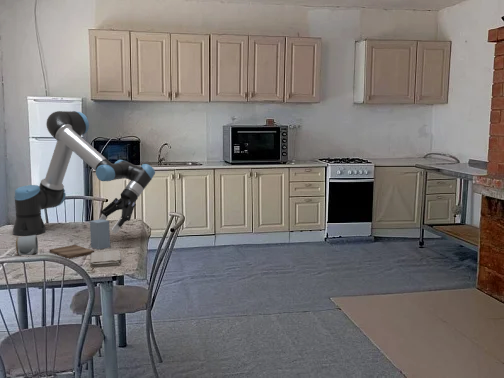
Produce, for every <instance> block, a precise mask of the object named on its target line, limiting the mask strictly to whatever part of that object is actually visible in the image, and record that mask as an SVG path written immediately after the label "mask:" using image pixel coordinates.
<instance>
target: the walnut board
mask: <svg viewBox="0 0 504 378" xmlns="http://www.w3.org/2000/svg"><path fill="white" fill-rule="evenodd" d="M48 252H49V253H50V254H53V255H56V254H57V255H56V256H59V257H62V258H64V257H65V259H67V258H69V259H68V260H71V259H75V257H76V258H79V257H80V258H81V257H85V256H91V253H93V252H95V250H94V249H90V248H87V247H84V246H82V245H81V246H80V245H78V244H73V245H65V246H61V247H57V248H56V247H55V248H51V249H49V251H48ZM84 255H85V256H84Z"/></svg>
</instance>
